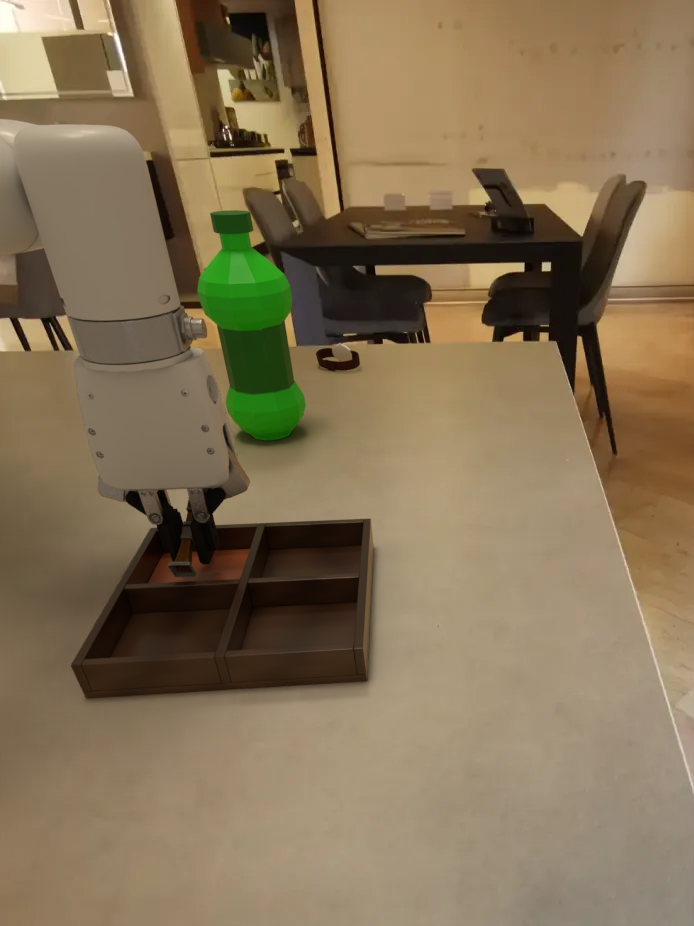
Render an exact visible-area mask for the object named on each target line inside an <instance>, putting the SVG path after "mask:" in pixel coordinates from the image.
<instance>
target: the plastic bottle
mask: <svg viewBox="0 0 694 926" xmlns="http://www.w3.org/2000/svg"><path fill="white" fill-rule="evenodd" d="M209 215H210V221H211V225H212V230H213V233H215V234H219V239H220V245H221V249H220V250H219V251H218V252H217V254H216V255H215V256H214V257H212V259H211V260H210V262H208V265H207V266H206V267H205V269H204V270H203V272H202V273H201V275H200V276H199V277H198V282H197V290H196V291H197V295H198V299H199V303H200V306H201V308H202V310H203V312H204V315H205V316H206V317H207V318H208V319H209V320H211V321H212V322H213V323H214V324H215V325H216V328H217V332H218V338H219V342H220V346H221V350H222V356H223V361H224V365H225V370H226V374H227V378H228V384H229V387H228V390H227V393H226V398H225V399H226V400H225V407H226V412H227V414H228V416H230V418H231V419H232V421H233V422H234V423H235V424H236V425H237V426H238V427H239V428H240V429H241V430H242V431H244V432H245V433H247V434H248V435H250V436H252V438H254V439H255V440H261V441H273V440H276V441H277V440H281V439H284V438H286V437H288V436H290V435H291V434H292V433H293V430H294V429H295V428H296V427H297V426H298V424H299V423H300V421H301V419H302V418H303V417H304V415H305V411H306V407H307V405H306V399H305V395H304V393H303V391H302V390H301V388H300V386H299V385H298V383H297V382H296V381H295V377H294V370H293V365H292V359H291V358H292V357H291V351H290V346H289V338H288V334H287V327H286V320H287V318H288V317H289V315H290V314H291V312H292V309H293V308H292V307H293V295H292V289H291V284H290V283H289V281H288V278H287V277H286V274H285V273H284V272H282V271H281V270H280V269H279V268H278V267H277V266H276V265H275V264H274V263H272V262H271V261H270V260H269V259H268V258H266V257H265V256H264V255H263V254H261V253H260V252H258V251H257V250H256V249H255V248H253V246H252V243H251V236H250V233H252V232H254V225H253V221H252V220H253V219H252V214H251V211H248V210H237V209H234V210H232V209H231V210H217V211H212V212H210V213H209Z"/></svg>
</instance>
